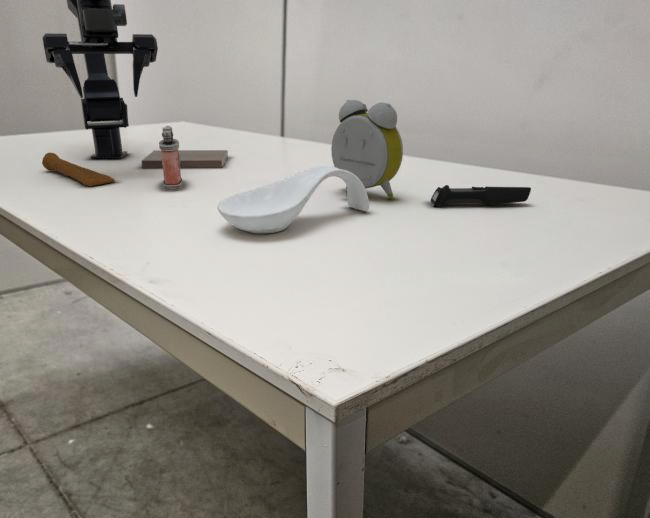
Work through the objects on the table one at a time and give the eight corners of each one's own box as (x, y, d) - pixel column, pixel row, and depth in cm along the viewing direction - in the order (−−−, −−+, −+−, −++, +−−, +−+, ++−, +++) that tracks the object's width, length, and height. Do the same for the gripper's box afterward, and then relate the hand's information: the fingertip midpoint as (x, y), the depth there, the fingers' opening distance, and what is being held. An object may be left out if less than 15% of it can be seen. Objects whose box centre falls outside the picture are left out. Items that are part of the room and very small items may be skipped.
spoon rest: (247, 246, 78) (244, 190, 75) (204, 225, 87) (200, 174, 84) (384, 217, 92) (387, 168, 88) (335, 201, 100) (336, 156, 97)
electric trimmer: (531, 209, 97) (535, 189, 96) (433, 208, 96) (435, 187, 95) (524, 203, 100) (527, 183, 99) (429, 202, 100) (431, 182, 99)
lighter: (182, 190, 107) (176, 130, 102) (162, 190, 106) (156, 130, 102) (183, 180, 114) (178, 124, 110) (164, 181, 113) (158, 124, 109)
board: (154, 157, 135) (153, 150, 134) (228, 157, 136) (227, 150, 135) (142, 168, 124) (141, 160, 123) (222, 167, 125) (221, 160, 124)
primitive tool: (116, 182, 112) (113, 162, 110) (89, 187, 108) (85, 167, 107) (59, 169, 123) (56, 151, 121) (33, 173, 119) (29, 155, 118)
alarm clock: (402, 198, 102) (408, 102, 95) (376, 206, 97) (380, 105, 91) (349, 187, 109) (351, 97, 103) (322, 194, 105) (323, 100, 98)
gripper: (32, -20, 98) (48, 78, 98) (152, -15, 104) (167, 77, 104) (39, 16, 108) (53, 104, 108) (148, 18, 114) (161, 101, 115)
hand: (109, 96), depth 109 cm, fingers open, 9 cm apart
